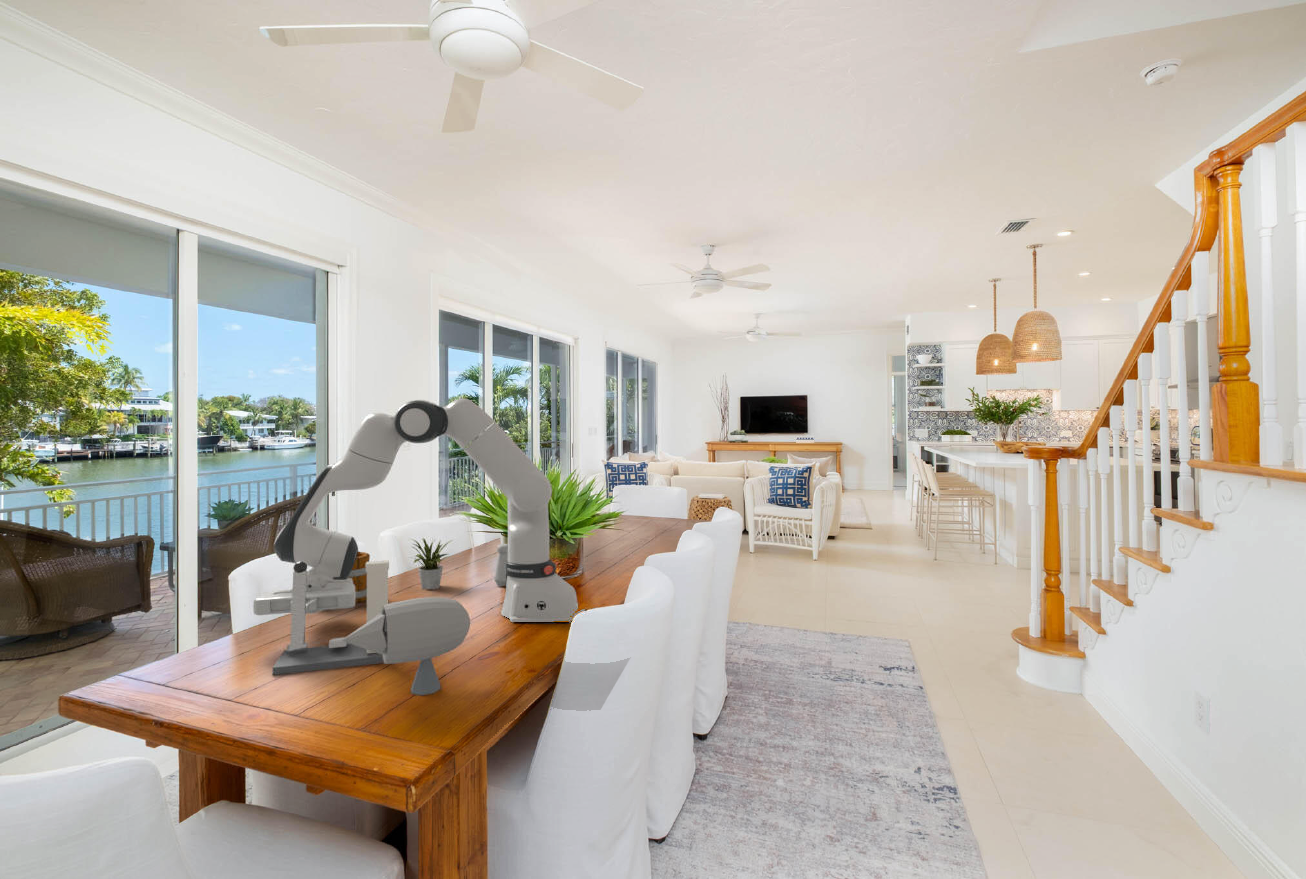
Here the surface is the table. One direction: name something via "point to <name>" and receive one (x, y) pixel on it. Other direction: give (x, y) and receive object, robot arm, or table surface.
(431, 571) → the house plant
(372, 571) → the beige rectangular bar
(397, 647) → the jet engine
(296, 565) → the steel toggle lever
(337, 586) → the robot arm
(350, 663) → the console
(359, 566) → the mug
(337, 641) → the block
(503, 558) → the salt shaker
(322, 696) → the table surface
